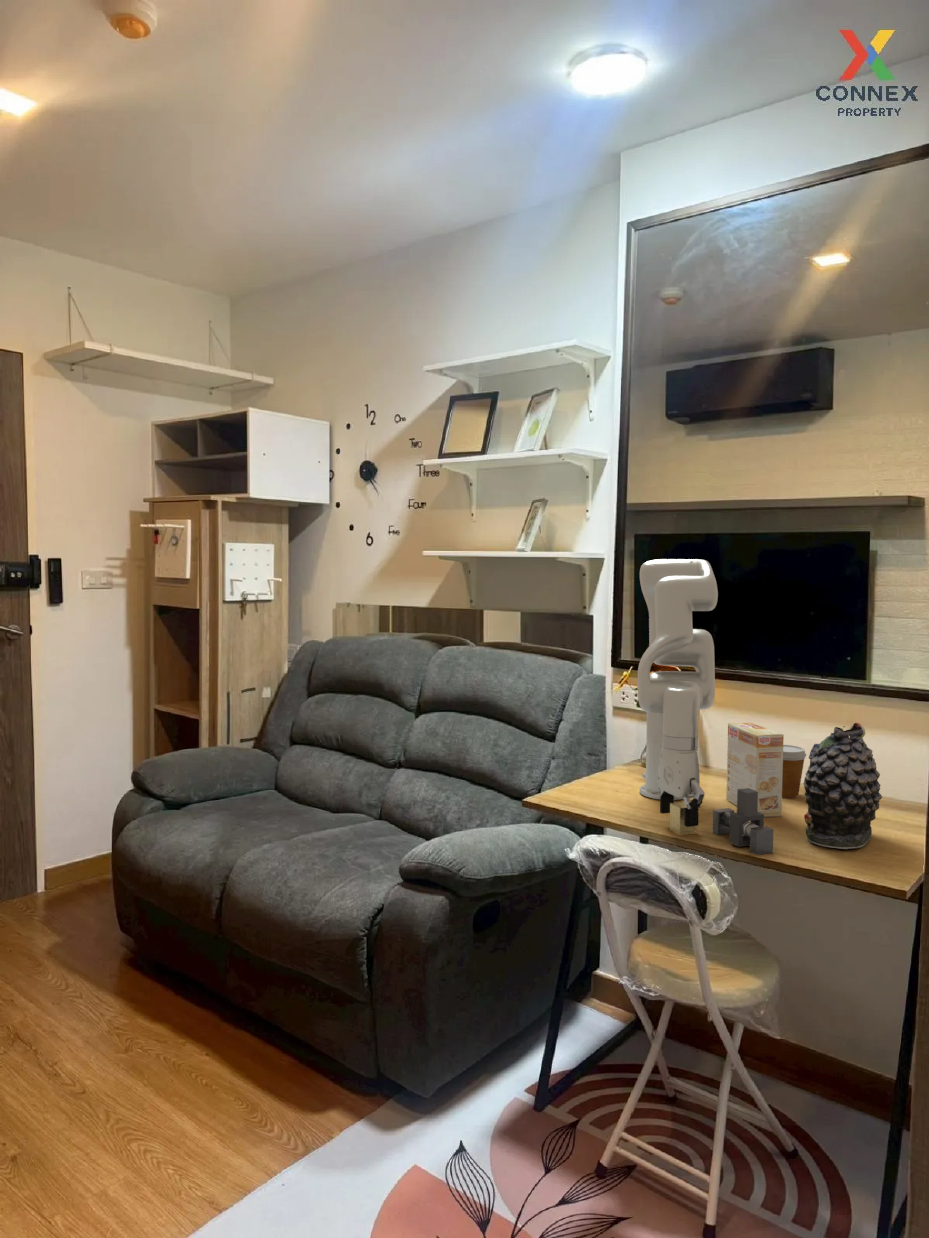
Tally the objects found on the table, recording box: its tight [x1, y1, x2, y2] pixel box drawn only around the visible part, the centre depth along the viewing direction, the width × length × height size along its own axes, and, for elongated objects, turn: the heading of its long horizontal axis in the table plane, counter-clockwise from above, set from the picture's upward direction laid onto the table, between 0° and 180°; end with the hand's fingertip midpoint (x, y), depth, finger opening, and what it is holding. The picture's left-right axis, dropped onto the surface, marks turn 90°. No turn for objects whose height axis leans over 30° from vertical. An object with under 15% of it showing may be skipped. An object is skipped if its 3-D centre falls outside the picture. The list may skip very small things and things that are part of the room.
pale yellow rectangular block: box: [669, 801, 697, 836], centre depth 183 cm, size 4×4×6 cm
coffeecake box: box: [725, 722, 785, 818], centre depth 200 cm, size 15×7×20 cm, turn 8°
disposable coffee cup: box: [782, 744, 807, 799], centre depth 211 cm, size 10×10×12 cm
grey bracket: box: [729, 788, 765, 848], centre depth 174 cm, size 3×6×11 cm, turn 108°
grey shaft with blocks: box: [712, 807, 774, 856], centre depth 176 cm, size 15×4×5 cm, turn 18°
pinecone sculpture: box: [803, 722, 883, 850], centre depth 177 cm, size 21×15×25 cm
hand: (678, 819), depth 183 cm, fingers open, 9 cm apart
